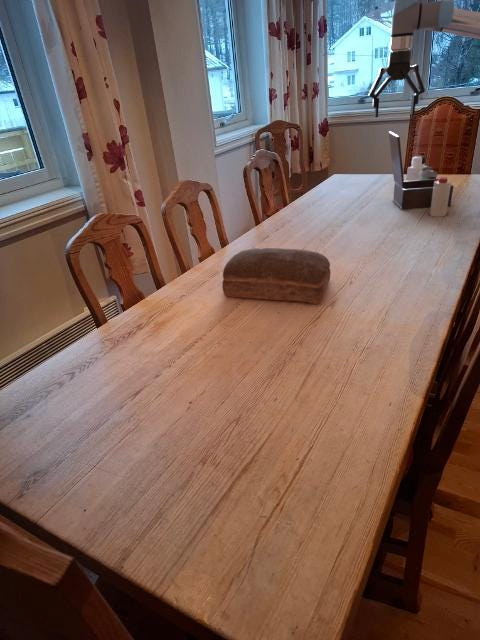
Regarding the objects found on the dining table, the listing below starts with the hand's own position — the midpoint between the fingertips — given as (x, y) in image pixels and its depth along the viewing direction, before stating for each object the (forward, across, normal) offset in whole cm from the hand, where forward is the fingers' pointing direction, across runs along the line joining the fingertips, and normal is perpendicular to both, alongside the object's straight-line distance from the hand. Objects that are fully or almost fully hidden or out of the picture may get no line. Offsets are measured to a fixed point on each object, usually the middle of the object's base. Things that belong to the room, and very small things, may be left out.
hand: (393, 115), depth 165 cm
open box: (+35, -15, -2) cm, 39 cm away
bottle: (+35, -17, +14) cm, 42 cm away
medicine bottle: (+36, -25, -39) cm, 58 cm away
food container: (+36, -23, -19) cm, 46 cm away
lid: (+17, -4, -2) cm, 17 cm away
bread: (+36, +48, +71) cm, 93 cm away
